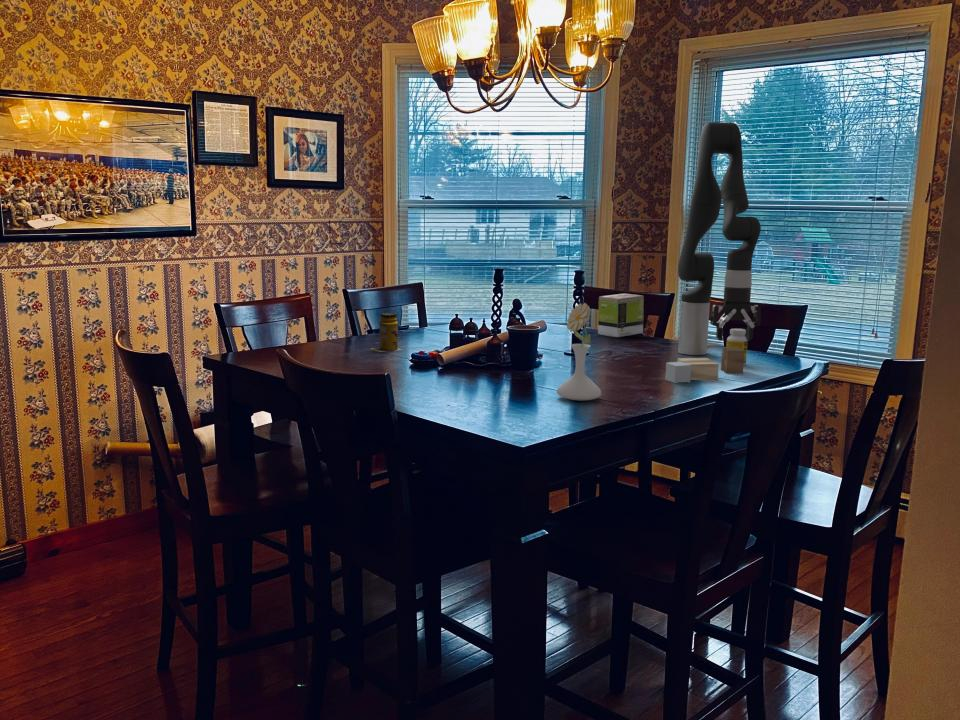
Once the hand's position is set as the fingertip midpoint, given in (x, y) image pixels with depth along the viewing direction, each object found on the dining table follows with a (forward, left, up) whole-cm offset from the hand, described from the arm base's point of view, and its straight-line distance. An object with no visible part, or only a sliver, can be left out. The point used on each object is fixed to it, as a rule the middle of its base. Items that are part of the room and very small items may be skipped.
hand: (734, 340), depth 248 cm
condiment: (-34, -105, -10) cm, 111 cm away
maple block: (+8, -13, -10) cm, 18 cm away
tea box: (-69, -19, -10) cm, 73 cm away
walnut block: (0, 0, -10) cm, 10 cm away
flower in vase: (+35, -52, -10) cm, 63 cm away
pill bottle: (-11, +5, -10) cm, 16 cm away
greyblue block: (+13, -20, -10) cm, 26 cm away
